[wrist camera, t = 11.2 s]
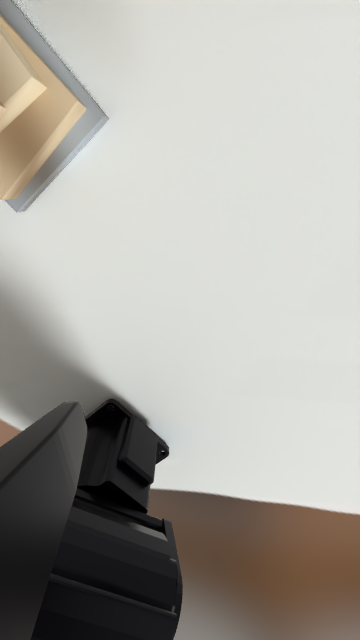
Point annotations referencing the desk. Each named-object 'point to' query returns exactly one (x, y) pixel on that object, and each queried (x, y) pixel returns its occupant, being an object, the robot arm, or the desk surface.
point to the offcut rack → (37, 111)
